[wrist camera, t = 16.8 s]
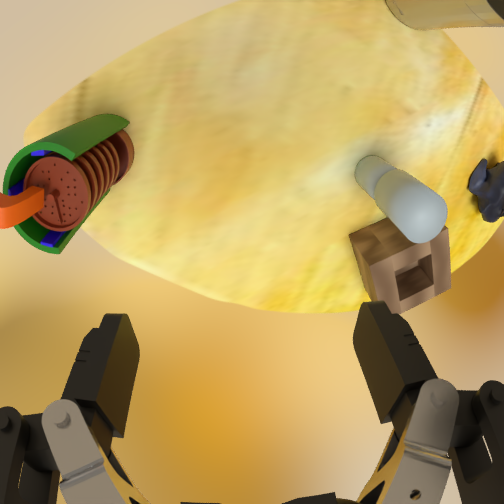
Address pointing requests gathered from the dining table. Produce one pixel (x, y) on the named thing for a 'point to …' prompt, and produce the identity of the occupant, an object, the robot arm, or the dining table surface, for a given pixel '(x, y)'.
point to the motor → (64, 180)
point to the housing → (401, 265)
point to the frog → (489, 190)
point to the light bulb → (403, 199)
